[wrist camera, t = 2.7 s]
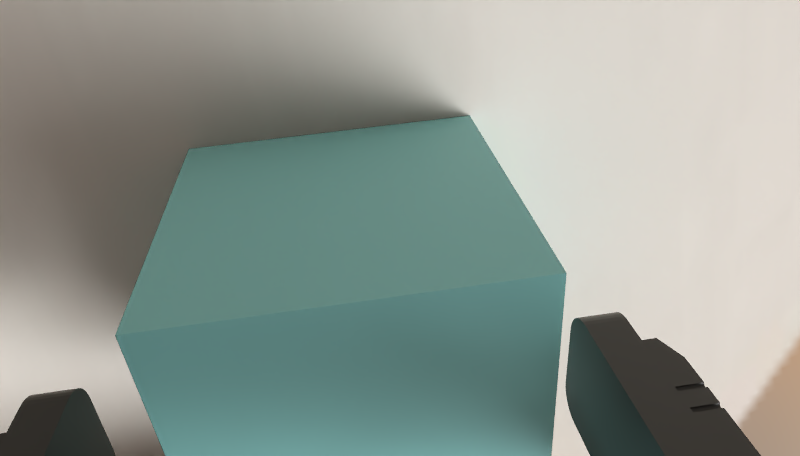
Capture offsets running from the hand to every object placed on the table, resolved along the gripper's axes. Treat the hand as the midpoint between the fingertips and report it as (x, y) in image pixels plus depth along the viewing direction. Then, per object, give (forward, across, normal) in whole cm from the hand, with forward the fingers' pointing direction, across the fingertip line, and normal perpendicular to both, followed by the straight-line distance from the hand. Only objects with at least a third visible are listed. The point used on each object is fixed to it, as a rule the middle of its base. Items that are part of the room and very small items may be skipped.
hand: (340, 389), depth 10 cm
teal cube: (+4, 0, 0) cm, 4 cm away
